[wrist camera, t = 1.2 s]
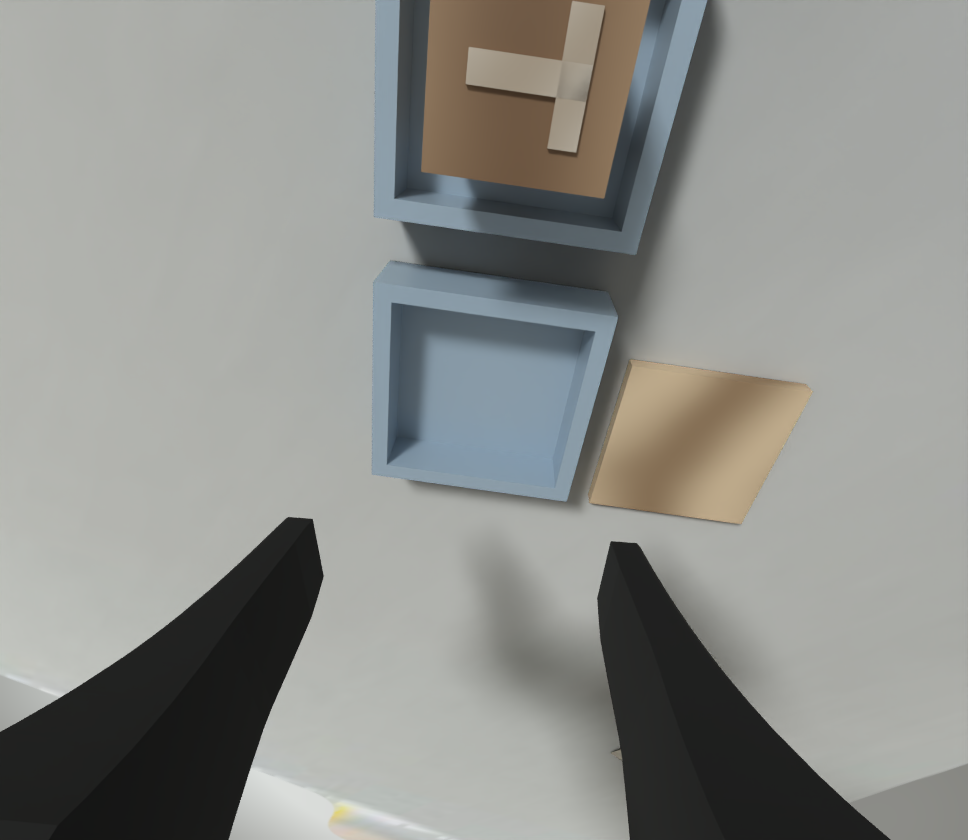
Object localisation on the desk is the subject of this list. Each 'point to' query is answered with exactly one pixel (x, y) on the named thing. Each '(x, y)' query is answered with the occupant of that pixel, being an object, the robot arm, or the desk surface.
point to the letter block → (529, 90)
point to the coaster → (693, 440)
